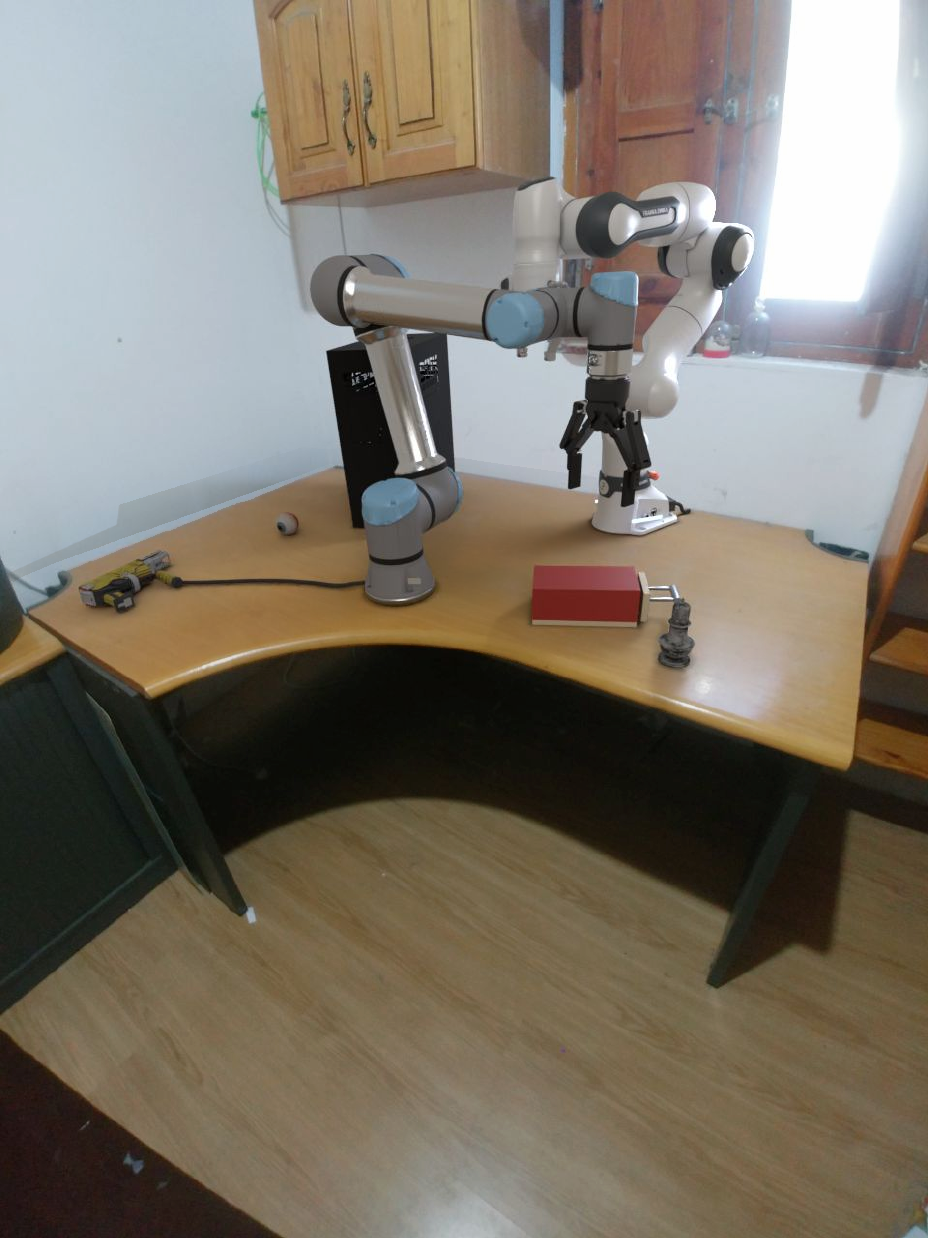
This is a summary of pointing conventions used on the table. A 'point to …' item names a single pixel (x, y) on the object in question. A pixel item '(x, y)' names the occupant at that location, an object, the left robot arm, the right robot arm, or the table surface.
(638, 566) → the table surface
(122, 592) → the toy gun
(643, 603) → the drawer
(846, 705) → the table surface
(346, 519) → the table surface
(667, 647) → the chess piece
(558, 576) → the cabinet
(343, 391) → the cardboard box
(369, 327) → the left robot arm
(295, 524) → the eyeball
